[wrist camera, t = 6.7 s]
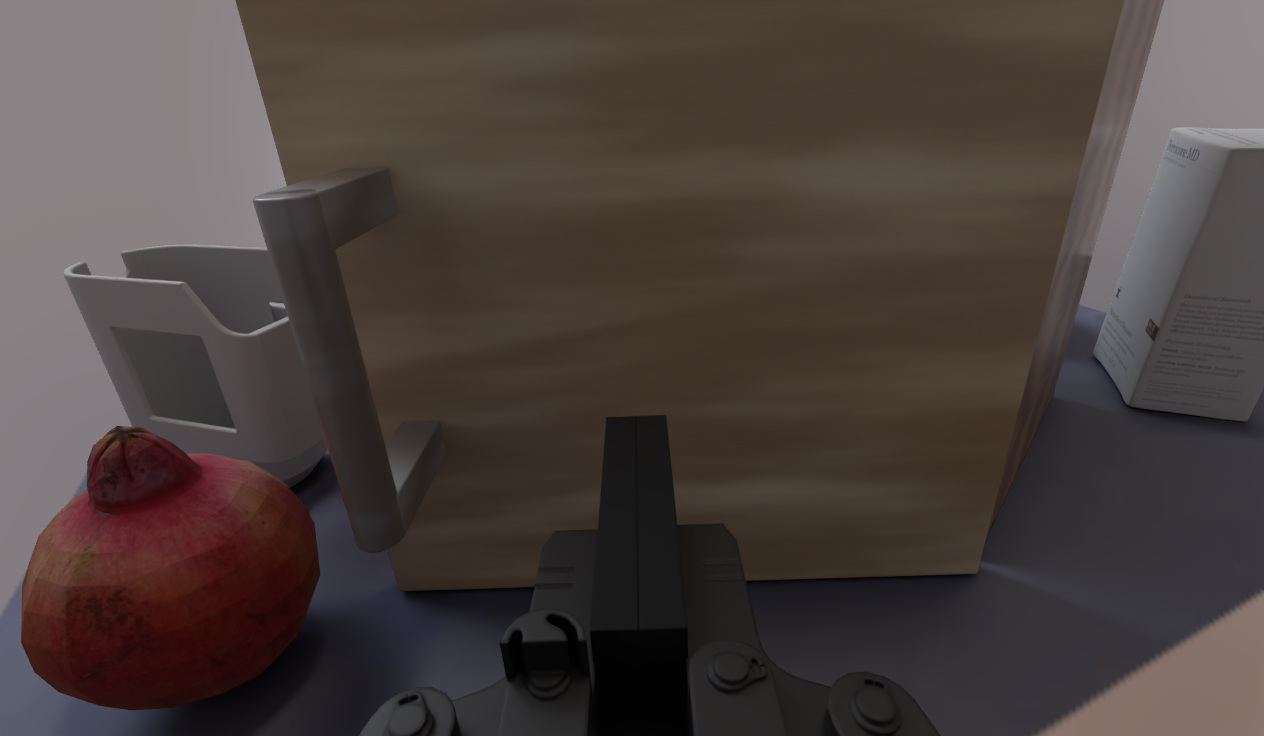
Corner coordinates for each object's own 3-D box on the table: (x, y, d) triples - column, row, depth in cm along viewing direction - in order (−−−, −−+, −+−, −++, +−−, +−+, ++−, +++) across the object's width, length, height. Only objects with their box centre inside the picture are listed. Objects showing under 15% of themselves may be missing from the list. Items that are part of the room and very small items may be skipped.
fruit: (356, 563, 27) (292, 357, 23) (331, 729, 20) (231, 477, 16) (146, 611, 25) (33, 395, 21) (36, 813, 18) (-168, 552, 14)
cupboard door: (1058, 691, 20) (1418, -275, 10) (344, 709, 21) (13, -187, 11) (967, 558, 25) (1140, -148, 16) (405, 575, 26) (226, -96, 16)
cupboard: (976, 559, 26) (1157, -156, 16) (576, 402, 40) (536, -25, 30) (1053, 395, 38) (1182, -65, 28) (726, 320, 52) (734, -3, 42)
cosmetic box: (1090, 355, 43) (1159, 126, 36) (1198, 365, 41) (1291, 124, 34) (1129, 412, 36) (1223, 141, 29) (1262, 428, 34) (1395, 139, 27)
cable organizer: (302, 524, 30) (221, 287, 25) (121, 486, 33) (18, 272, 28) (390, 450, 35) (339, 246, 30) (228, 425, 39) (158, 238, 34)
